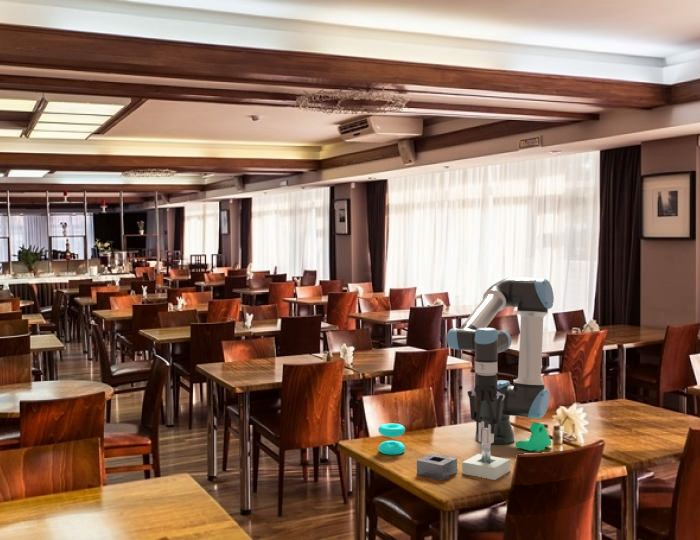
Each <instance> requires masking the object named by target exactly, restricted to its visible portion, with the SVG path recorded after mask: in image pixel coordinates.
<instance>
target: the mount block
mask: <svg viewBox="0 0 700 540" xmlns="http://www.w3.org/2000/svg"><path fill="white" fill-rule="evenodd" d="M457 473H458V458H457V457H453V456H449V455H443V454H436V453H432V452H431V453H429V454H427V455H425V456H423V457H421V458H419V459H416V476H420V477H425V478H429V479H430V478H431V479H435V480H439V481H444V480H446V479H448V478H450V477H452V476H453V475H456V474H457Z"/></svg>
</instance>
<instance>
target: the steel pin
mask: <svg viewBox="0 0 700 540" xmlns="http://www.w3.org/2000/svg"><path fill="white" fill-rule="evenodd" d="M491 446H492V444H489V443H488V428H482V442H481V454H482V462H483V463H488V464H490V463H491V456H492V455H491V454H492V453H491V451H492V450H491Z"/></svg>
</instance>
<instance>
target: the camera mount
mask: <svg viewBox="0 0 700 540" xmlns="http://www.w3.org/2000/svg"><path fill="white" fill-rule="evenodd" d="M529 430H530V431H529V432H531V433H530V437H529V438H527V439H523V440H519V441H515V447H516V448H519V449H523V450H526V451H529V452H531V451H533V450H534V452H539V451H543V450H546V447H550V446H552V440H551V437H550V436H549V434H548V433H549V432H548V431H547V429H546V426H545V425H544V424H543V423H539V422H536V421H534V422H532V423H531V424H530V427H529Z"/></svg>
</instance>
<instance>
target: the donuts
mask: <svg viewBox="0 0 700 540" xmlns="http://www.w3.org/2000/svg"><path fill="white" fill-rule="evenodd" d="M405 432H406V427H405V426H404V425H402V424H400V423H394V422H393V423H383V424H381V425H379V427H378V433H379V434H380V435H382V436H384V437H387V438H397V437H400V436H402V435H404V433H405ZM378 450H379V452H380V453H381V454H384V455H388V456H394V455H395V456H396V455H397V456H398V455H400V454H402V453H403V454H404V452H405V450H406V446H405V445H404V444H403V442H401V441H398V440H386V441H383V442H381V443H380V444H379V445H378Z"/></svg>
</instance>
